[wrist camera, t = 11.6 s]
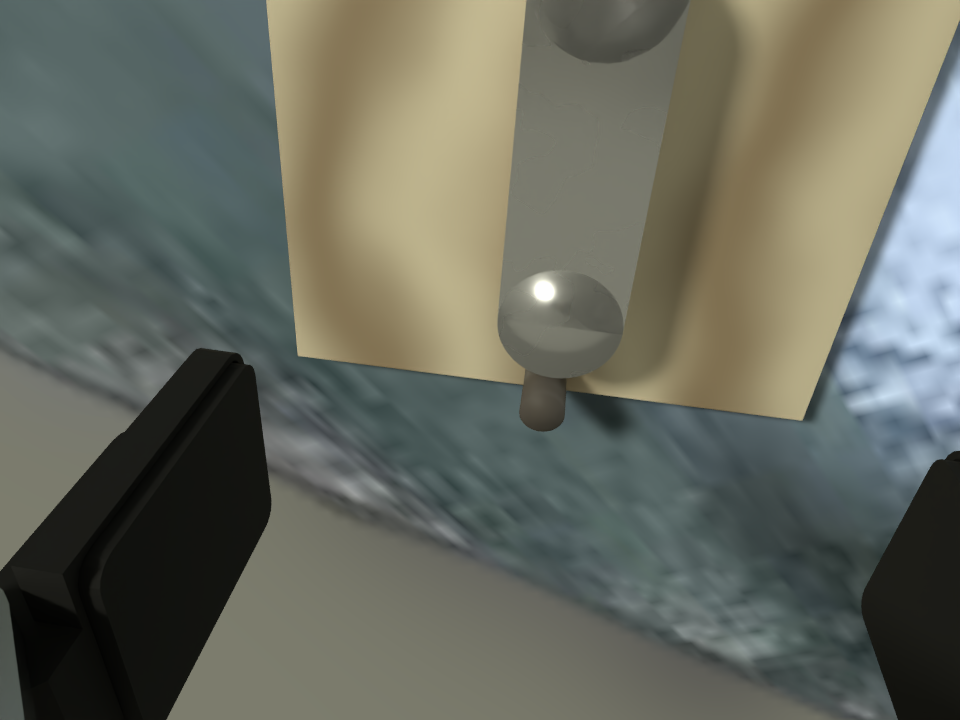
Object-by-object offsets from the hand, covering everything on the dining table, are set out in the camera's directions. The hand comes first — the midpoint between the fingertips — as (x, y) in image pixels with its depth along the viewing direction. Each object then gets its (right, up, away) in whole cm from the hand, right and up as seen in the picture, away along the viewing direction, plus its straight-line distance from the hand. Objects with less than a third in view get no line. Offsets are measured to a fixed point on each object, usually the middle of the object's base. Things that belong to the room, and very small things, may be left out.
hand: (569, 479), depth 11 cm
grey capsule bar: (+2, +9, +13) cm, 16 cm away
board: (+2, +10, +14) cm, 18 cm away
